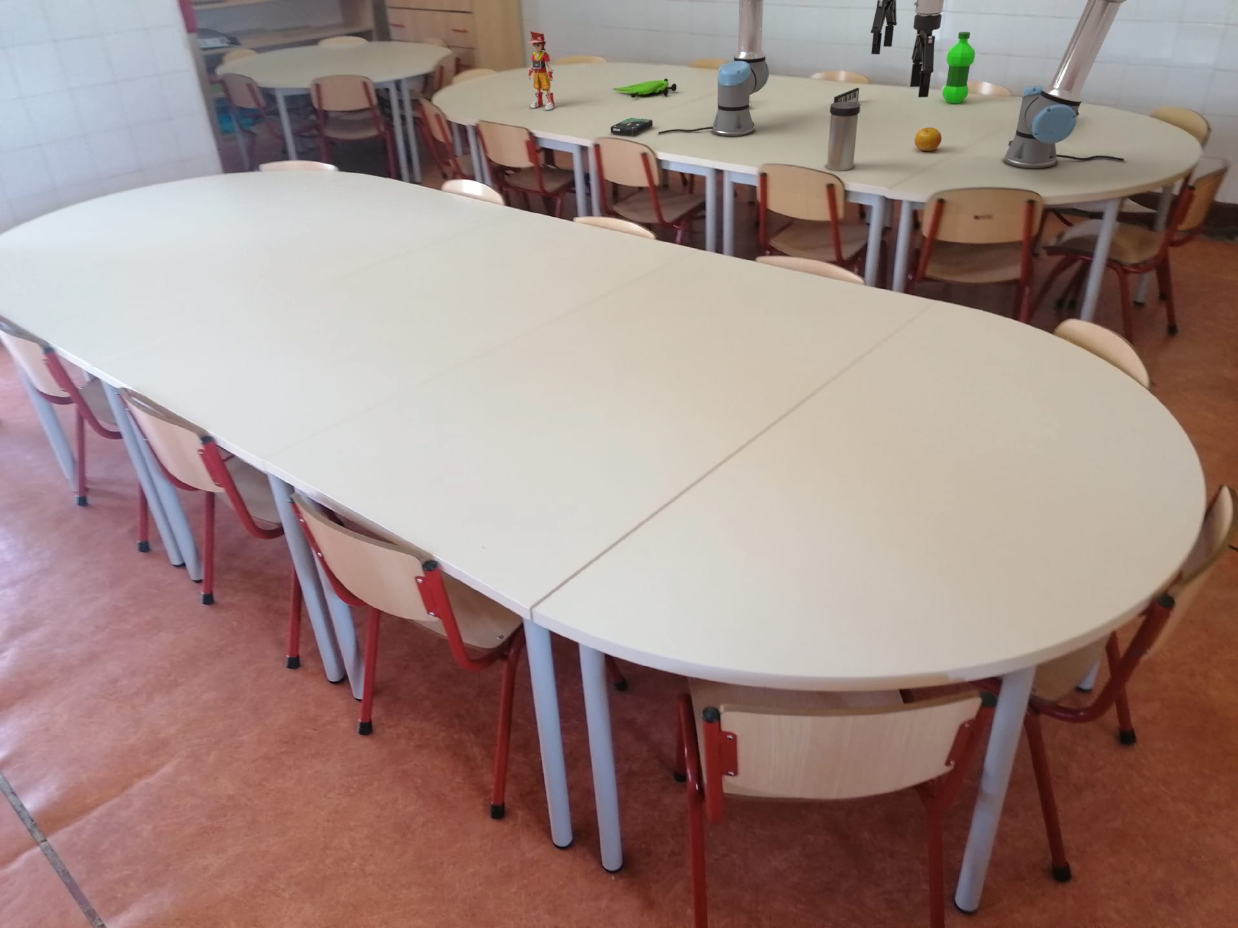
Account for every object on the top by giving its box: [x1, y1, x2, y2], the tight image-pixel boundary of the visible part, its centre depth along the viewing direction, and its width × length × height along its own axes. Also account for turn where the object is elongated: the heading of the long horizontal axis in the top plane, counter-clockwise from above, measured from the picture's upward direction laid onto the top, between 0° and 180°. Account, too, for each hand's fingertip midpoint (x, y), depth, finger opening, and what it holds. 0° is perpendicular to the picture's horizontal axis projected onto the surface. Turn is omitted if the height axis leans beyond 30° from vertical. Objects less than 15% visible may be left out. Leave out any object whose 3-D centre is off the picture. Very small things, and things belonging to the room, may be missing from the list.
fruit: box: [914, 127, 943, 152], centre depth 303 cm, size 8×8×8 cm
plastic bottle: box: [942, 31, 976, 104], centre depth 348 cm, size 10×10×25 cm
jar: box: [826, 113, 859, 171], centre depth 289 cm, size 8×8×19 cm
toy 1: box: [527, 31, 556, 111], centre depth 374 cm, size 12×9×30 cm
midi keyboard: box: [833, 87, 860, 103], centre depth 357 cm, size 18×1×5 cm, turn 138°
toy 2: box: [612, 78, 677, 99], centre depth 396 cm, size 28×5×30 cm
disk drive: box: [610, 117, 653, 136], centre depth 344 cm, size 10×3×15 cm
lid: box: [829, 102, 861, 116], centre depth 284 cm, size 9×9×2 cm
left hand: (881, 50), depth 308 cm, fingers open, 13 cm apart
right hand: (918, 92), depth 270 cm, fingers open, 13 cm apart
